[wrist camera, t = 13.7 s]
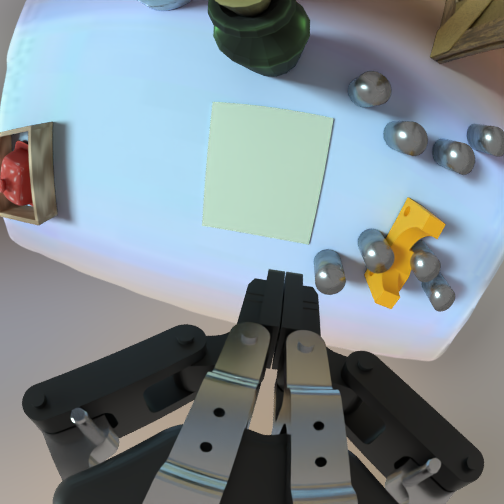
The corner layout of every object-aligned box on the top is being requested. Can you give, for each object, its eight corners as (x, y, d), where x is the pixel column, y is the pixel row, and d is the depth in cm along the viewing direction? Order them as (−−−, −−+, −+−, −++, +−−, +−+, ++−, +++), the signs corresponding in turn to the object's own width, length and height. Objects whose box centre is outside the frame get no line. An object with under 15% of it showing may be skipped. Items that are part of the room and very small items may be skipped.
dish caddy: (9, 130, 33) (-9, 134, 29) (52, 121, 32) (30, 125, 28) (15, 207, 41) (-1, 215, 37) (57, 214, 40) (38, 225, 35)
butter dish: (46, 211, 40) (14, 229, 33) (15, 189, 39) (-14, 203, 32) (53, 153, 35) (16, 165, 27) (21, 136, 34) (-13, 146, 26)
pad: (213, 101, 29) (212, 101, 29) (333, 118, 28) (333, 118, 28) (202, 225, 36) (202, 225, 36) (308, 244, 35) (308, 244, 35)
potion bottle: (222, 61, 26) (147, 11, 10) (262, 12, 23) (226, -72, 7) (279, 96, 28) (259, 64, 12) (321, 46, 24) (344, -27, 8)
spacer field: (350, 74, 25) (359, 66, 20) (487, 129, 23) (508, 133, 19) (311, 270, 37) (312, 292, 32) (436, 292, 35) (447, 312, 31)
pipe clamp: (388, 284, 36) (401, 313, 30) (364, 274, 35) (375, 303, 30) (431, 211, 30) (455, 230, 24) (407, 197, 30) (430, 214, 24)
